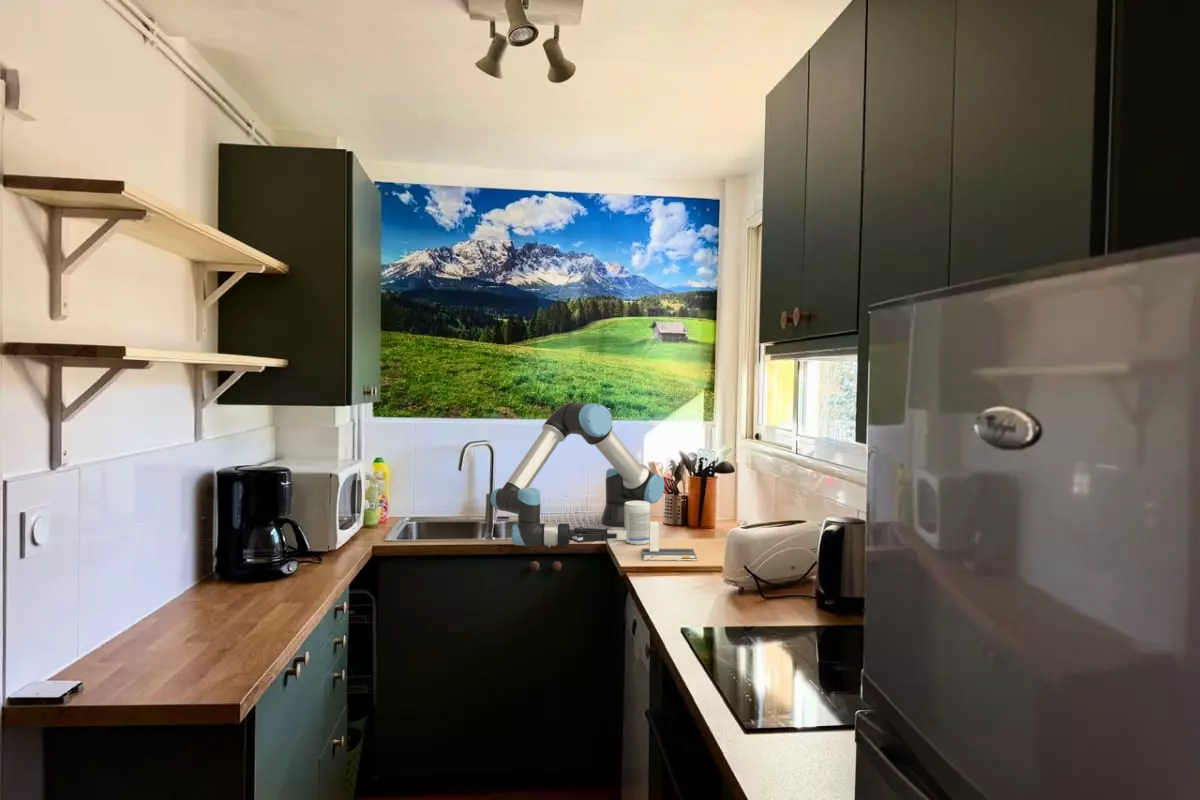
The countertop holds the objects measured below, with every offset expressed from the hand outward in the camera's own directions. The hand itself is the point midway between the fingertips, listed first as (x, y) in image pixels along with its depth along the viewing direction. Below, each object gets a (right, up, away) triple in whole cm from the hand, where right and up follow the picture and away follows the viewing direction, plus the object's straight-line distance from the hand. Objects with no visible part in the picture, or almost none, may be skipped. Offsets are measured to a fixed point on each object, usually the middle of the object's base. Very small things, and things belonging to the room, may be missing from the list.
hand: (626, 535), depth 249 cm
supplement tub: (+5, -6, +19) cm, 21 cm away
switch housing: (+14, -7, 0) cm, 16 cm away
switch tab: (+9, -7, 0) cm, 12 cm away
